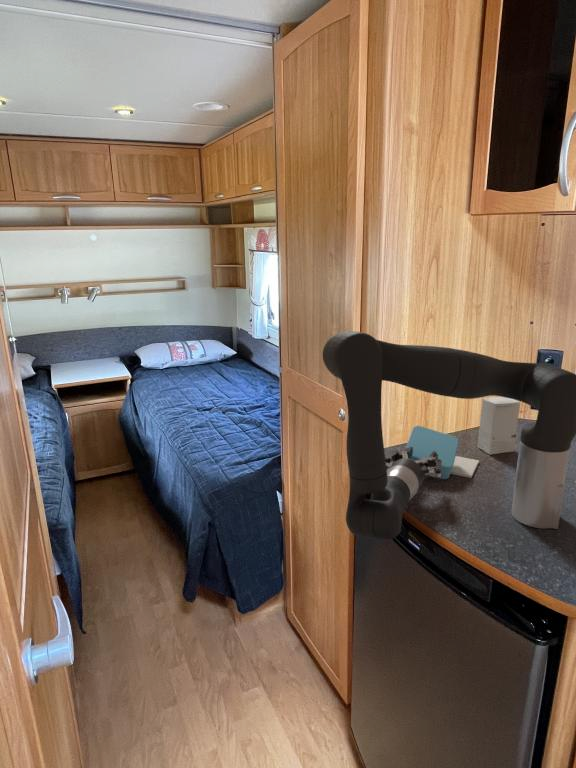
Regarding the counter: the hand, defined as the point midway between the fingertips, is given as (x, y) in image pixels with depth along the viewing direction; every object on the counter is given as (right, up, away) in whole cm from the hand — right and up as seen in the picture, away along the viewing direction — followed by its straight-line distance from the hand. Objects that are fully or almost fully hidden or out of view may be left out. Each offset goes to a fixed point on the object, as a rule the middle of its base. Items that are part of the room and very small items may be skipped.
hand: (422, 452), depth 123 cm
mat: (+9, -4, +10) cm, 14 cm away
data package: (+1, -4, +1) cm, 4 cm away
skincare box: (+26, -2, +18) cm, 31 cm away
